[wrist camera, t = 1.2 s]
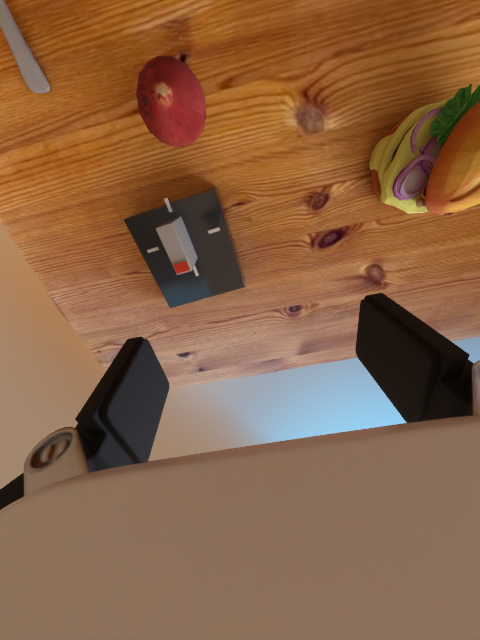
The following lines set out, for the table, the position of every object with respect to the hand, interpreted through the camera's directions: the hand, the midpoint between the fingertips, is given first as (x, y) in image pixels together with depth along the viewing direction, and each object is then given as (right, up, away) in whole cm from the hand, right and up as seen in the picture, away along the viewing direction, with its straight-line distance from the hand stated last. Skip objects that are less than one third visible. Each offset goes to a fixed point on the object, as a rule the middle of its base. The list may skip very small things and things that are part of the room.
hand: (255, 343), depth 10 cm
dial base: (-7, +11, +20) cm, 24 cm away
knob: (-8, +11, +17) cm, 21 cm away
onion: (-7, +22, +13) cm, 27 cm away
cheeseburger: (+19, +19, +16) cm, 32 cm away
